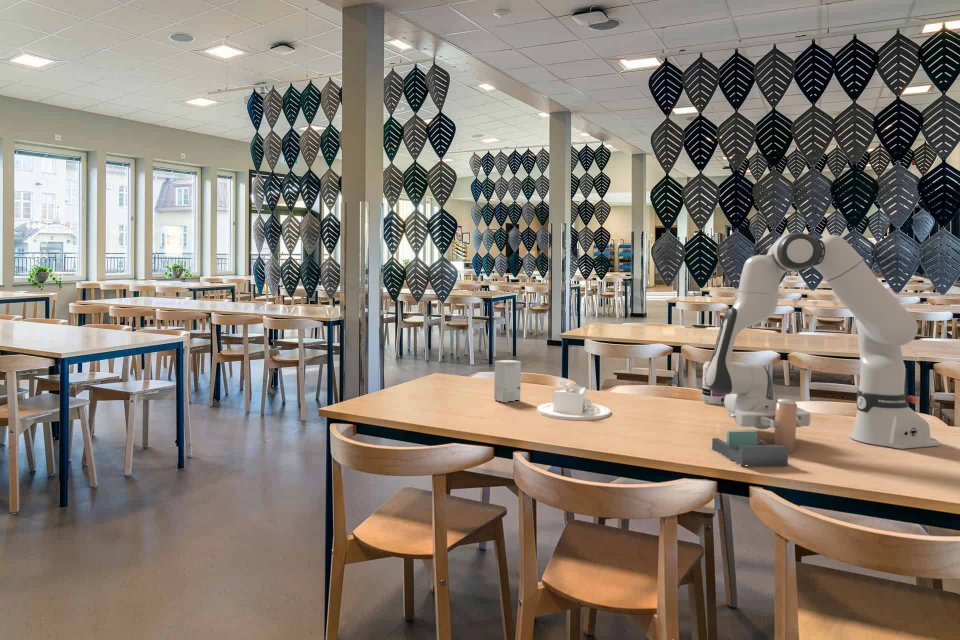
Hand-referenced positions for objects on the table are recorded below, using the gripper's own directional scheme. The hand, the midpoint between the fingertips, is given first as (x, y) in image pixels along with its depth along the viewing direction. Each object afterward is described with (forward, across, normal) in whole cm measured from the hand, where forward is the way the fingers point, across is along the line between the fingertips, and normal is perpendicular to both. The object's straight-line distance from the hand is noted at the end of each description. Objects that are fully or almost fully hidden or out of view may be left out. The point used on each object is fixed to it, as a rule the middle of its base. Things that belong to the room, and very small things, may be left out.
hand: (787, 424), depth 177 cm
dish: (-52, -46, +8) cm, 70 cm away
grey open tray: (+4, -13, +8) cm, 15 cm away
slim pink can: (-1, 0, +8) cm, 8 cm away
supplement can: (-65, +10, +8) cm, 66 cm away
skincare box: (-72, -66, +8) cm, 98 cm away
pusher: (+2, -13, +7) cm, 15 cm away
